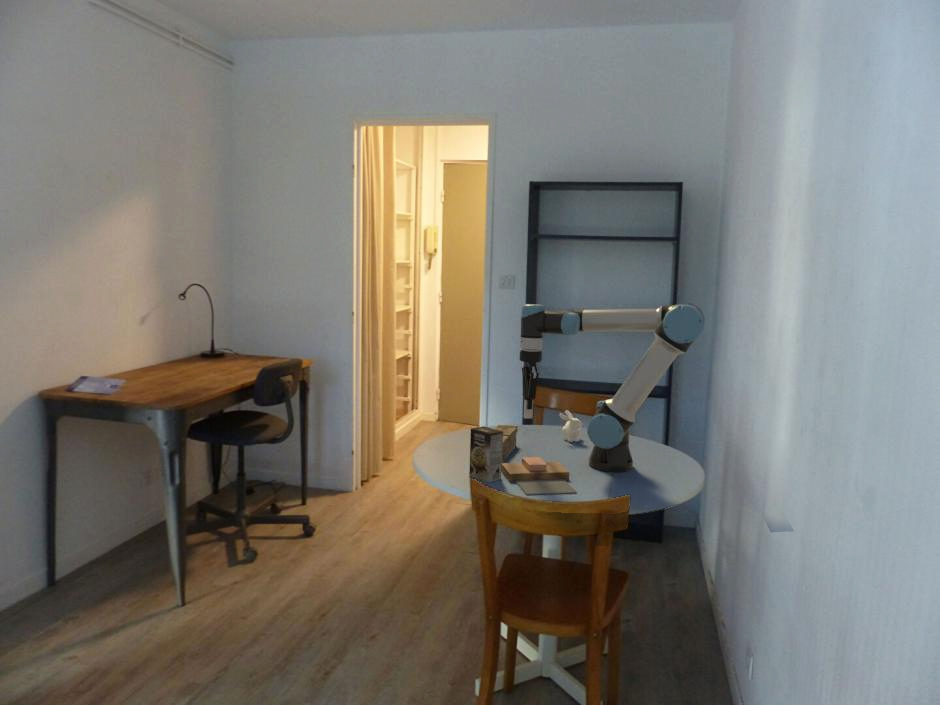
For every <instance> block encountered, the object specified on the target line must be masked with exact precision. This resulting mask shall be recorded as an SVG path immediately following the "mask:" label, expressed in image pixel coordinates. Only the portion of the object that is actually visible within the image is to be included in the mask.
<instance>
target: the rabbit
mask: <svg viewBox="0 0 940 705" xmlns="http://www.w3.org/2000/svg"><path fill="white" fill-rule="evenodd" d="M564 413H565V414H566V415H565V414H563V413H561V412H560V413H559V417H560V418H561V420H564V421H566V423H565V425H564V426H563V427H562V429H561V430H562V436H563V437H564V438H563V440H564V441H566V440H567V442H570V443H574V442H573V441H575V442H576V443H578V441H579V442H580V441H581V437H580V436H581V432H582V427H583V423H582V421H581V420H580V419H578V418H577V417H573V415H572V413H571V412H570V411H569V410H568V409H566V410H565V411H564Z"/></svg>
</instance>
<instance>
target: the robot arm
mask: <svg viewBox="0 0 940 705" xmlns="http://www.w3.org/2000/svg"><path fill="white" fill-rule="evenodd" d="M704 327H705V316H704V313H703V311H702V310H701V308H700V307H699V306H697V305H695V304H693V303H690V302H681V303H678V304H672V305H660V306H659V308H630V309H629V308H626V309H623V308H621V309H620V308H619V309H617V308H615V309H614V308H613V309H612V308H611V309H610V308H609V309H606V308H605V309H574V308H571V309H568V308H567V309H565V310H562V311H549V310H545V306H544V305H543V304H537V303H536V304H534V303H532V304H531V303H526V304H523V305H522V308H521V316H520V339H519V340H518V343H519V344H520V345H519V349H520V350H519V361H520V362H521V363H523V362H524V365H523V367H521V373H522V374H521V375H522V396H523V400H524V402H523V418H524V419H533V414H534V413H533V412H534V411H533V410H534V400H535V399H536V395H537V387H538V379H539V376H540V374H539V372H538V367H537V363H541V362H542V360H543V358H542V357H543V356H542V355H543V352H542V349H543V339H544V338H543V337H544V336H543V334H549V335H550V334H552V335H563V336H575V335H578V333H579V332H654V333H653V335H654V340H653V342H651V344H650V346H649V347H648V348H647V350H646V351H645V353H644V354H643V355H642V357H641V358H640V359H639V361H638V363H637V364H636V365H635V366H634V368H633V369H632V370H631V371H630V373H629V375H628V376H627V378H626V379H625V380H624V382H623V383H622V385H621V386H620V387H619V389H618V390H616V391H617V392H616V393H614V396H612V398H609V399H605V400H599V401H597V403H596V407H595V409H596V412H595V414H594V415H593V417H591V418H590V419H589V421H588V423H587V428H586V430H587V432H586V433H587V437H588V439H589V440H590V442H592V444H593V448H592V450H591V453H590V456H589V459H588V465H589V466H590V467H591V468H592V469H596V470H599V471H603V472H604V471H605V472H611V473H612V472H614V473H617V472H618V473H620V472H623V473H624V472H628V471H631V470H632V469H633V468H634V461H633V457H632V453H631V450H630V445H629V444H630V429H631V428H632V426H633V424H634V423H636V416H635V414H636V412H637V411H638V409H640V407H641V406H642V404H643V403H644V401H645V400H646V398H648V396H649V395H650V394H651V392H652V390H653V389H654V388H655V386H656V385H657V384H658V383H659V381H660V380H661V378H662V377H663V376H664V374H665V373H666V371H667V370H668V369H669V368H670V366H671V365H672V363H673V362H674V361H675V359H676V358H677V356H679V355H682V354H686V353H687V351H689V349H690V348H691V346H692V345H693V343H694V342H695V341H696V340H697V339H698V338H699V337H700V336H701V334H702V332H703V330H704Z"/></svg>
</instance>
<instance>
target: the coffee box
mask: <svg viewBox="0 0 940 705" xmlns="http://www.w3.org/2000/svg"><path fill="white" fill-rule="evenodd" d="M502 443H503V431H499V430H496V429H495V428H492V427H488V426H483V425H482V426H477V427H472V428H470V444H469V448H470V450H469V472H468V473H469V474H468V475H469V477H471V478H474V479H477V480H480V481H483V482H486V483H492V482H495V481H499V480H501V479H502V471H501V464H502V463H503V462H502Z"/></svg>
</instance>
